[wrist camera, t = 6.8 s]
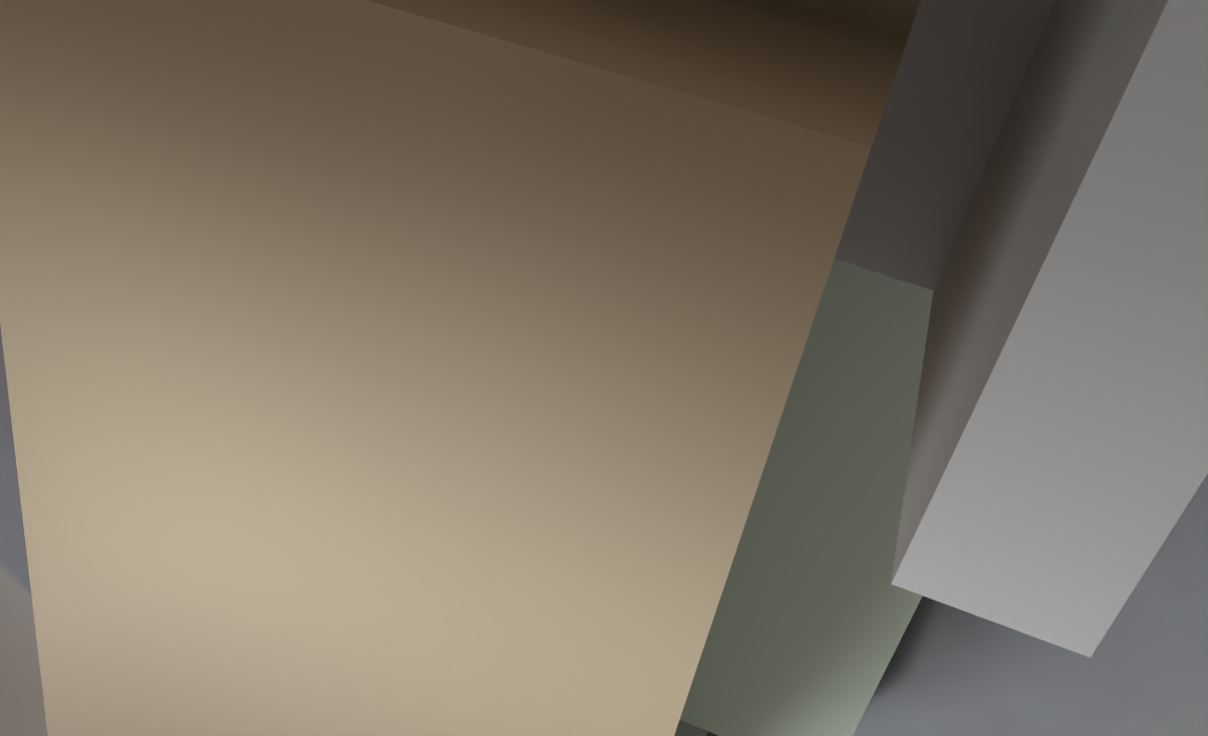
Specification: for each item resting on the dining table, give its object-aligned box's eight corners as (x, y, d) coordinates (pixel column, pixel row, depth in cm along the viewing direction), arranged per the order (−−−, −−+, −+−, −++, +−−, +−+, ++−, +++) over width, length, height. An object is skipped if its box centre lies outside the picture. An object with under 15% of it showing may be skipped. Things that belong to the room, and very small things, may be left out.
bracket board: (763, 879, 16) (650, 1397, 11) (259, 670, 17) (-44, 1054, 12) (1325, -282, 8) (1790, -274, 3) (334, -520, 9) (-420, -778, 4)
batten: (383, -188, 8) (-50, -120, 5) (936, -44, 8) (871, 149, 4) (306, 832, 15) (96, 1162, 11) (599, 957, 14) (470, 1344, 11)
